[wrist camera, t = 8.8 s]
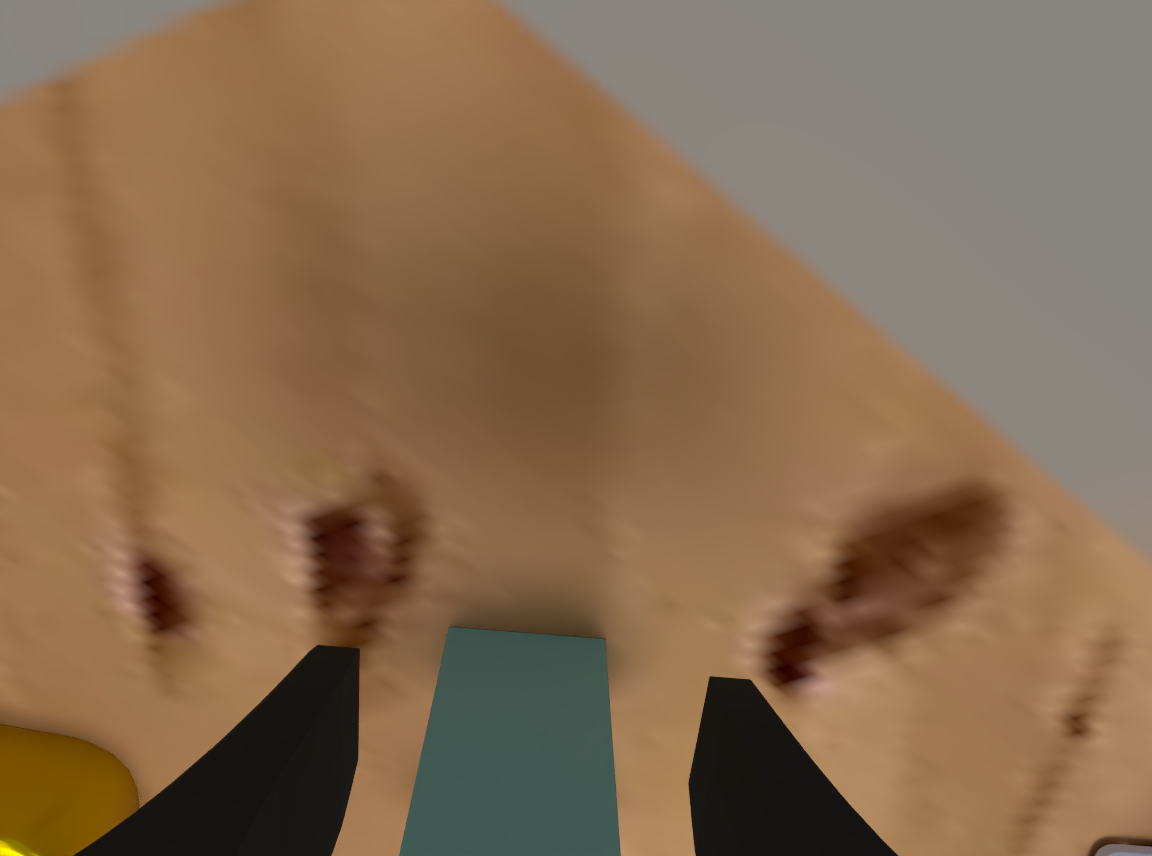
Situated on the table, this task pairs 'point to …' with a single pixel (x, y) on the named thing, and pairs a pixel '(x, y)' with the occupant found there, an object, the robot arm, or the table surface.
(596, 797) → the teal domino
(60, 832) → the element tile
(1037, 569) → the table surface
